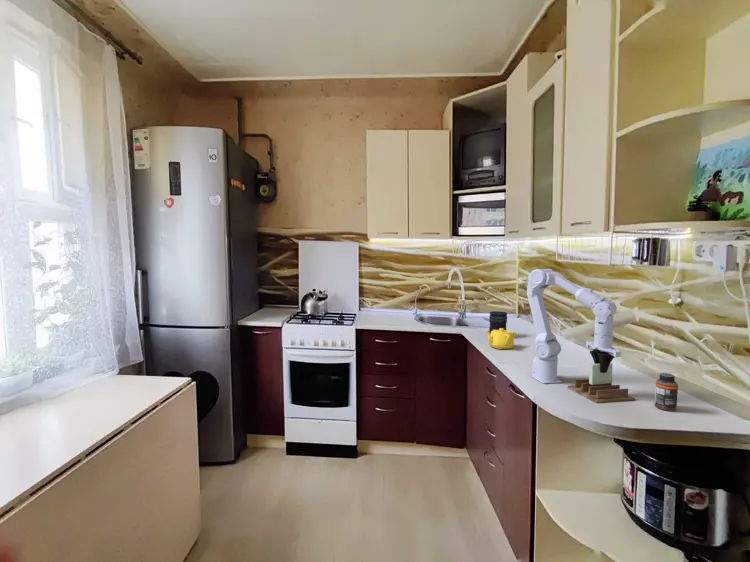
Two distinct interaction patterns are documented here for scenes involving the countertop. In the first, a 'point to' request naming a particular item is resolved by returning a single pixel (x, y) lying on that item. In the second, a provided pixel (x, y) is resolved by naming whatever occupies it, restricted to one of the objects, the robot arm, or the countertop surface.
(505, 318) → the storage jar
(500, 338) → the teapot
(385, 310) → the countertop surface
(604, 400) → the dish rack
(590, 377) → the pale green flat block
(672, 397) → the supplement bottle
